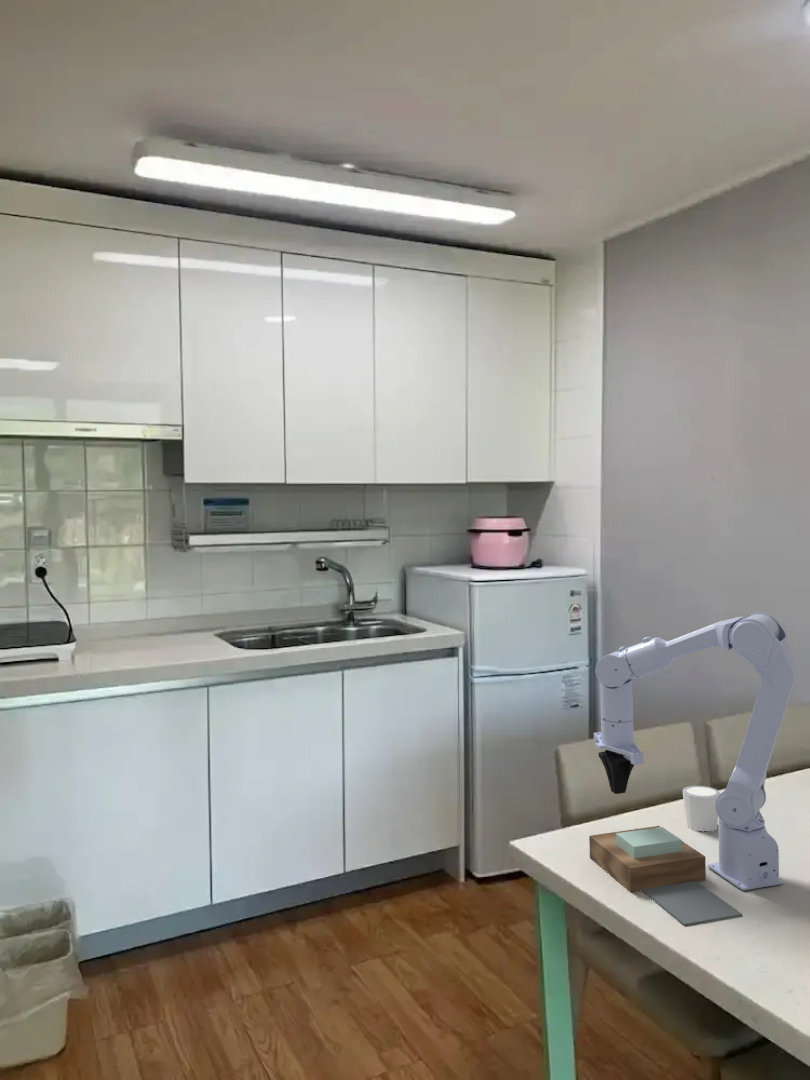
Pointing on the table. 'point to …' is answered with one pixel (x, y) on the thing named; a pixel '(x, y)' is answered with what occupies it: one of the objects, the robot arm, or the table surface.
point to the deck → (646, 864)
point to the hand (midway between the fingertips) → (618, 792)
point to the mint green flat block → (648, 842)
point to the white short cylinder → (700, 807)
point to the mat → (691, 903)
